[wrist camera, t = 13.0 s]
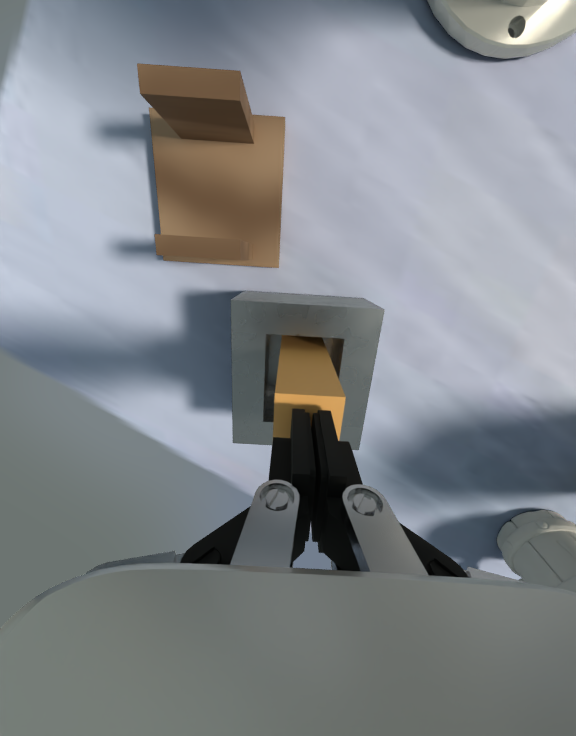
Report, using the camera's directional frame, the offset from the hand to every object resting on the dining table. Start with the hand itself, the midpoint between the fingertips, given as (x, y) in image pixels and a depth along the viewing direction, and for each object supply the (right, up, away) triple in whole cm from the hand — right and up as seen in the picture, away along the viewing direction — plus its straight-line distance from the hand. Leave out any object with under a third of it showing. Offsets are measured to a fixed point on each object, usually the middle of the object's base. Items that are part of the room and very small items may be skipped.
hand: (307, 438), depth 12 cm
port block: (0, +4, +11) cm, 11 cm away
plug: (0, +4, +10) cm, 10 cm away
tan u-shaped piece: (-5, +15, +7) cm, 17 cm away
